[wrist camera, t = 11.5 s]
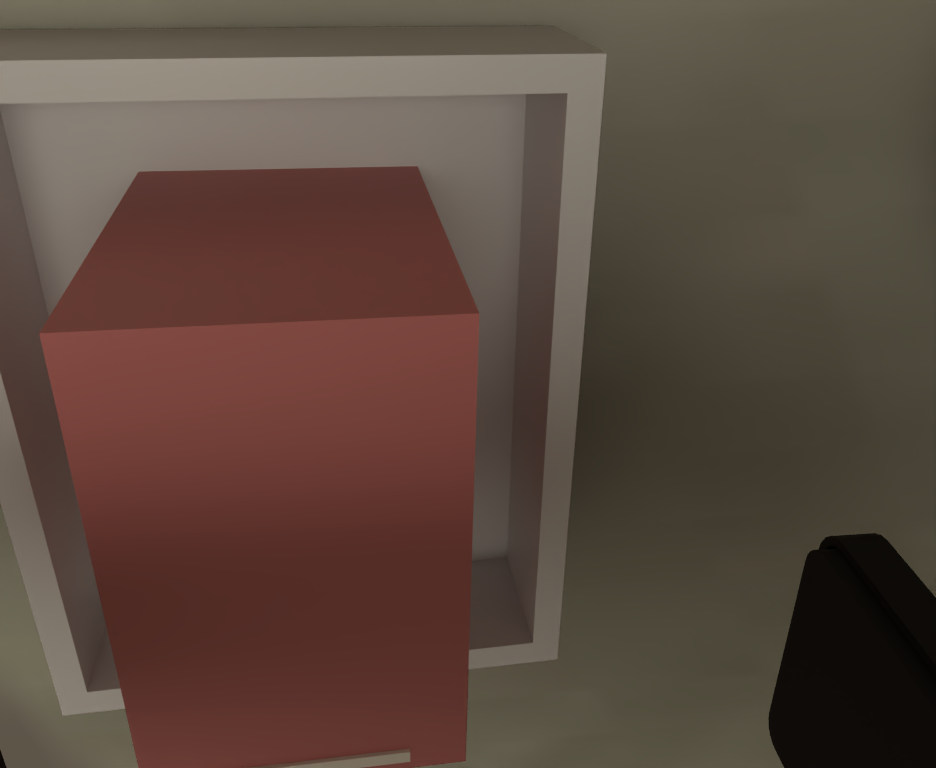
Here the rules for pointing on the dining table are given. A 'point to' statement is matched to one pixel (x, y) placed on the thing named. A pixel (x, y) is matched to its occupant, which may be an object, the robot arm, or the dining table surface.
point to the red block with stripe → (277, 465)
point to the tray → (312, 146)
